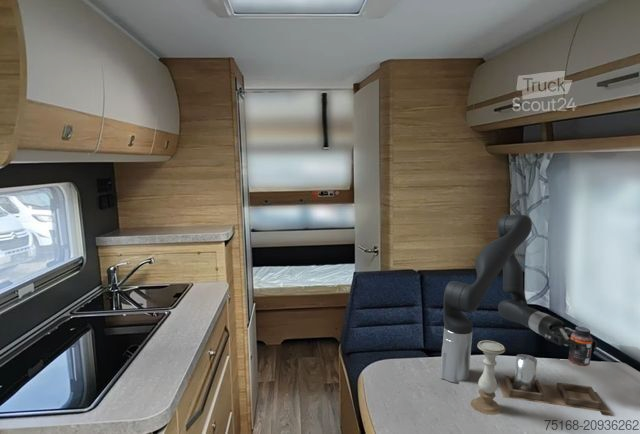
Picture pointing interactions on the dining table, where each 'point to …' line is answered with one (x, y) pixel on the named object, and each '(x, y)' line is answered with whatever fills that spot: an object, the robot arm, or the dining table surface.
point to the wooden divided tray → (556, 395)
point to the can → (525, 373)
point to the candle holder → (488, 379)
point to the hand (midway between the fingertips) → (587, 346)
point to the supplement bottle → (584, 353)
